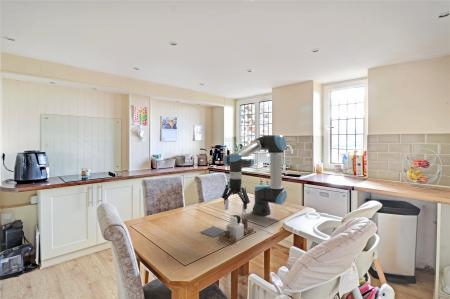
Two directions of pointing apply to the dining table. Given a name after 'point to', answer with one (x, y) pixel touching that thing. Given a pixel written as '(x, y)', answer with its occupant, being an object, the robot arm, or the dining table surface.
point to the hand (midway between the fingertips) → (235, 212)
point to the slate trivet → (213, 231)
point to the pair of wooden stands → (231, 239)
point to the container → (236, 227)
